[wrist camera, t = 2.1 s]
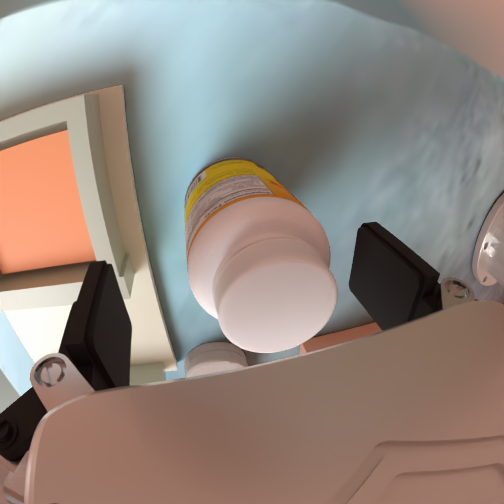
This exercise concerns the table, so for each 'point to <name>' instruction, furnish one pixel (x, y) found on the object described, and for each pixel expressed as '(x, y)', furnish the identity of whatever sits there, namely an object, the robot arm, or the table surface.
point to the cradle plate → (41, 206)
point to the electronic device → (213, 359)
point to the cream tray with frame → (91, 233)
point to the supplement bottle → (256, 257)
